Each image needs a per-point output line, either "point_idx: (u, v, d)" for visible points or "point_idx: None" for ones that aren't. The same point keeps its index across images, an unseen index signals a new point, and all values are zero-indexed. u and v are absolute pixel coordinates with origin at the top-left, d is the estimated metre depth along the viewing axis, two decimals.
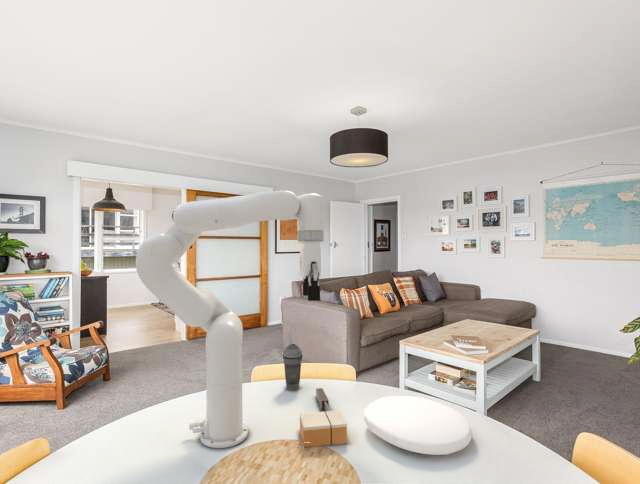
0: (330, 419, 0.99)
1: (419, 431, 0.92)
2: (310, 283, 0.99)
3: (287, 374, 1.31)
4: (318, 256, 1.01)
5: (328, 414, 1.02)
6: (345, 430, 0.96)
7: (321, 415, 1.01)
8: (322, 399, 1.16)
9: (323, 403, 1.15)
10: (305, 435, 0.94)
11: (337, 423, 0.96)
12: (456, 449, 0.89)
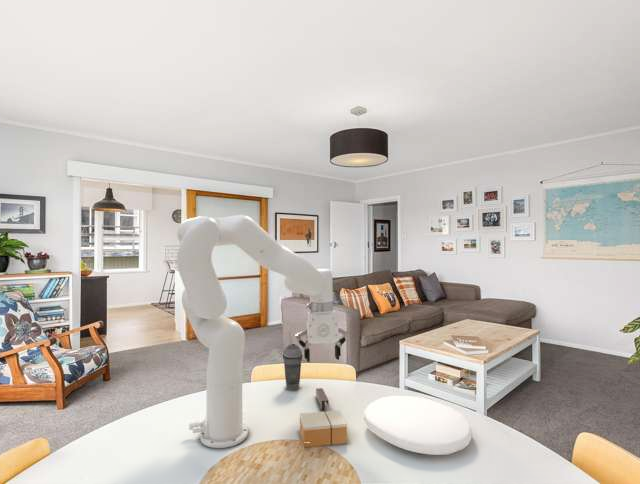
0: (330, 419, 0.99)
1: (419, 431, 0.92)
2: (341, 344, 1.20)
3: (287, 374, 1.31)
4: None
5: (328, 414, 1.02)
6: (345, 430, 0.96)
7: (321, 415, 1.01)
8: (322, 399, 1.16)
9: (323, 403, 1.15)
10: (305, 435, 0.94)
11: (337, 423, 0.96)
12: (456, 449, 0.89)
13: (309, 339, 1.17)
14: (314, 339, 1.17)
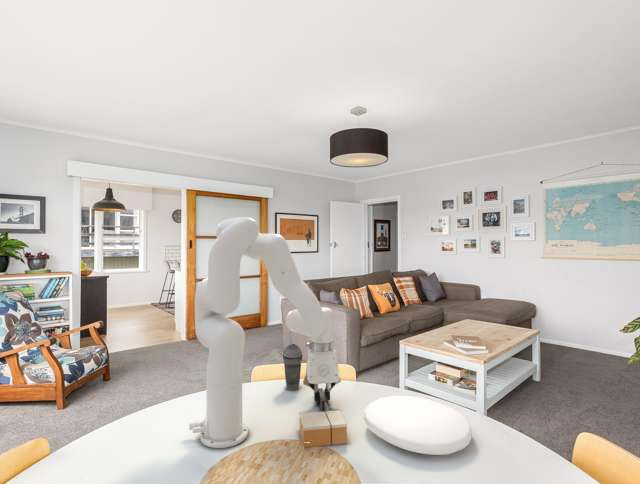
0: (330, 419, 0.99)
1: (419, 431, 0.92)
2: None
3: (287, 374, 1.31)
4: None
5: (328, 414, 1.02)
6: (345, 430, 0.96)
7: (321, 415, 1.01)
8: (322, 399, 1.16)
9: (323, 403, 1.15)
10: (305, 435, 0.94)
11: (337, 423, 0.96)
12: (456, 449, 0.89)
13: (309, 379, 1.17)
14: (314, 379, 1.17)
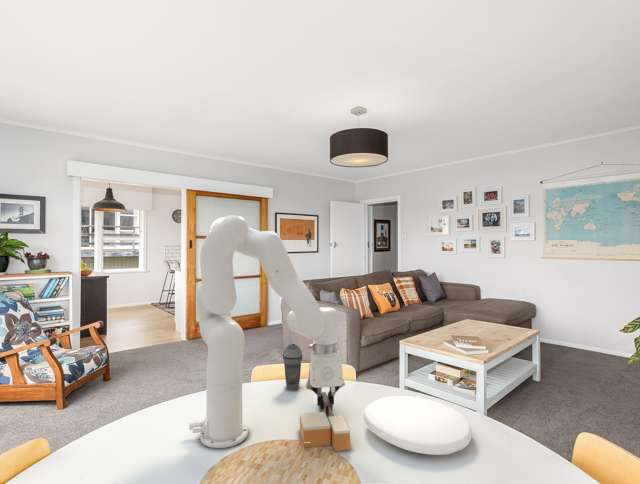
0: (333, 425, 0.96)
1: (419, 431, 0.92)
2: None
3: (287, 374, 1.31)
4: None
5: (331, 419, 0.99)
6: (348, 436, 0.93)
7: (321, 415, 1.01)
8: (326, 404, 1.10)
9: (327, 408, 1.09)
10: (305, 435, 0.94)
11: (340, 429, 0.93)
12: (456, 449, 0.89)
13: (312, 383, 1.11)
14: (317, 383, 1.11)
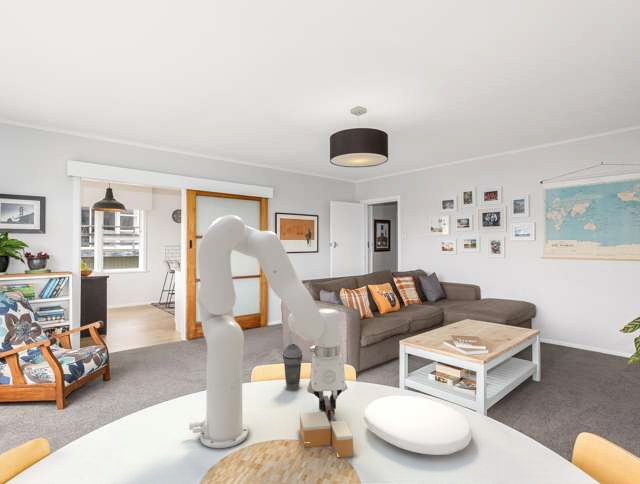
0: (335, 430, 0.93)
1: (419, 431, 0.92)
2: None
3: (287, 374, 1.31)
4: None
5: (333, 425, 0.96)
6: (351, 442, 0.90)
7: (321, 415, 1.01)
8: (328, 408, 1.08)
9: (329, 412, 1.07)
10: (305, 435, 0.94)
11: (342, 435, 0.90)
12: (456, 449, 0.89)
13: (313, 386, 1.09)
14: (319, 386, 1.09)
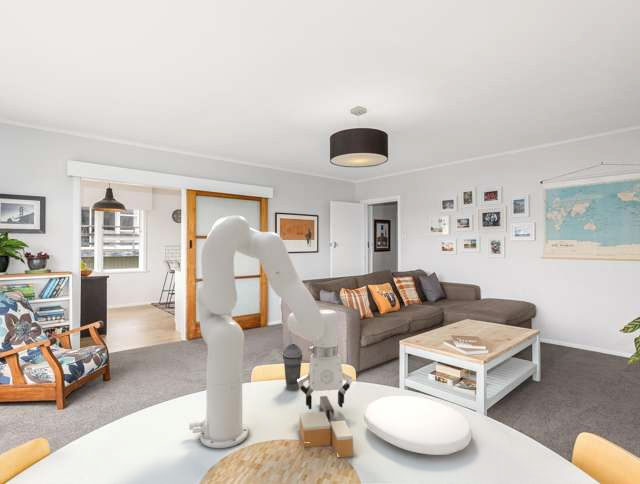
0: (335, 430, 0.93)
1: (419, 431, 0.92)
2: (344, 391, 1.14)
3: (287, 374, 1.31)
4: None
5: (333, 425, 0.96)
6: (351, 442, 0.90)
7: (321, 415, 1.01)
8: (327, 408, 1.10)
9: (328, 412, 1.09)
10: (305, 435, 0.94)
11: (342, 435, 0.90)
12: (456, 449, 0.89)
13: (311, 386, 1.11)
14: (317, 386, 1.11)
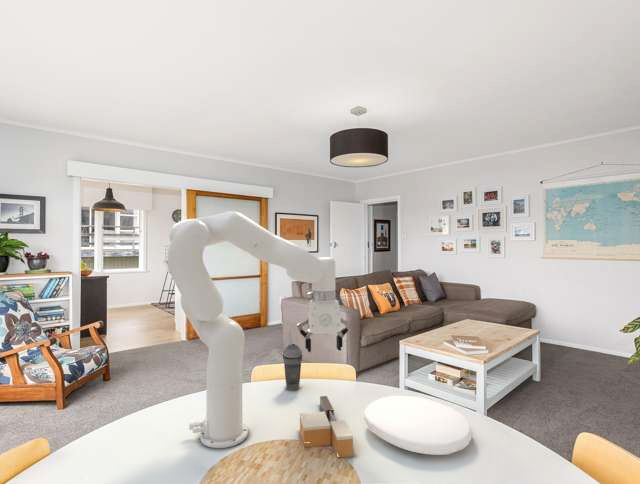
0: (335, 430, 0.93)
1: (419, 431, 0.92)
2: (343, 335, 1.17)
3: (287, 374, 1.31)
4: None
5: (333, 425, 0.96)
6: (351, 442, 0.90)
7: (321, 415, 1.01)
8: (327, 408, 1.10)
9: (328, 412, 1.09)
10: (305, 435, 0.94)
11: (342, 435, 0.90)
12: (456, 449, 0.89)
13: (311, 328, 1.14)
14: (316, 329, 1.14)
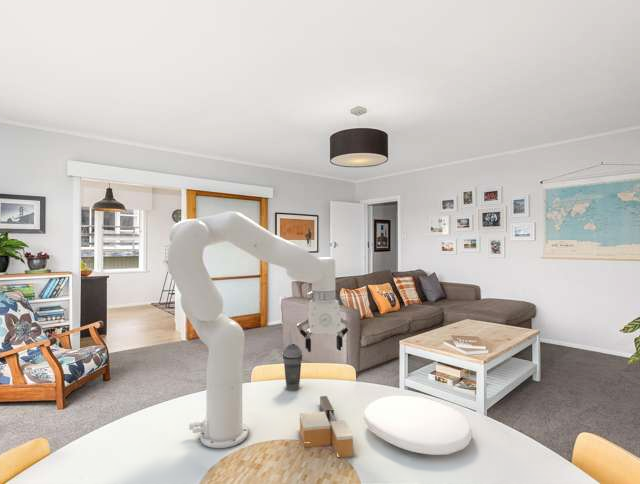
0: (335, 430, 0.93)
1: (419, 431, 0.92)
2: (343, 335, 1.17)
3: (287, 374, 1.31)
4: None
5: (333, 425, 0.96)
6: (351, 442, 0.90)
7: (321, 415, 1.01)
8: (327, 408, 1.10)
9: (328, 412, 1.09)
10: (305, 435, 0.94)
11: (342, 435, 0.90)
12: (456, 449, 0.89)
13: (311, 328, 1.14)
14: (316, 328, 1.14)
